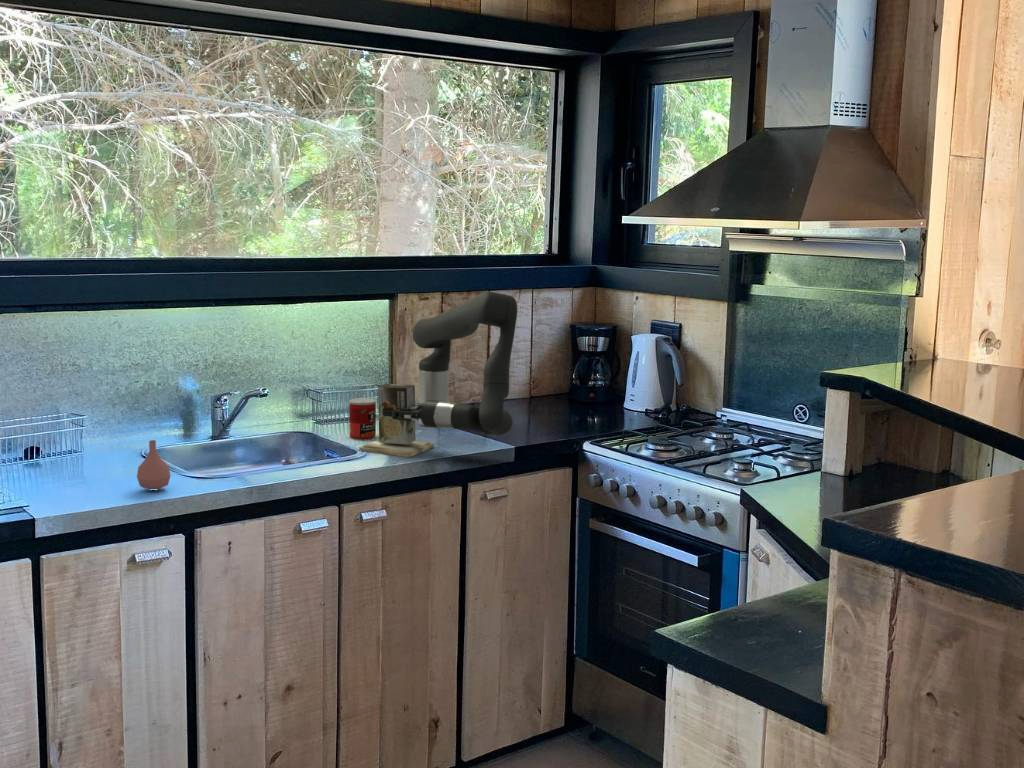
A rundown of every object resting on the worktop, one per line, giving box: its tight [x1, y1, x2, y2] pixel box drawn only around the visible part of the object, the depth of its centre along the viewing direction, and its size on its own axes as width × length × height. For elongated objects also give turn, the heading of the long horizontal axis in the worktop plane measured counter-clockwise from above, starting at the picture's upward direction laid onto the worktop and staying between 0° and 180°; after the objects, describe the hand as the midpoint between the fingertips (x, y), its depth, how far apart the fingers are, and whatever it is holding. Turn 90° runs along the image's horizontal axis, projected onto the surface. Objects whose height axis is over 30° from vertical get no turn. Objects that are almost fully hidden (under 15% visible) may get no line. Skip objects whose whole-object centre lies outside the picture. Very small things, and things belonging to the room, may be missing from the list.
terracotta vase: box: [136, 439, 172, 490], centre depth 266 cm, size 8×8×12 cm
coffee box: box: [377, 383, 417, 445], centre depth 313 cm, size 9×6×16 cm
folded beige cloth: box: [358, 439, 435, 458], centre depth 315 cm, size 14×16×2 cm
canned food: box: [348, 397, 377, 441], centre depth 329 cm, size 8×8×11 cm
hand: (390, 409), depth 314 cm, fingers closed on coffee box, 7 cm apart
